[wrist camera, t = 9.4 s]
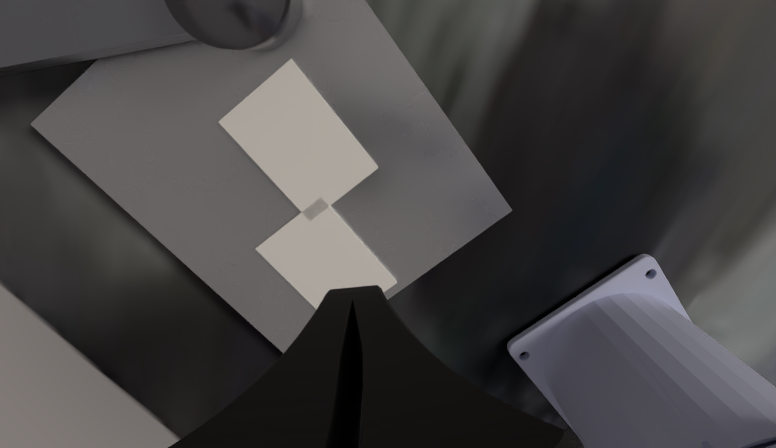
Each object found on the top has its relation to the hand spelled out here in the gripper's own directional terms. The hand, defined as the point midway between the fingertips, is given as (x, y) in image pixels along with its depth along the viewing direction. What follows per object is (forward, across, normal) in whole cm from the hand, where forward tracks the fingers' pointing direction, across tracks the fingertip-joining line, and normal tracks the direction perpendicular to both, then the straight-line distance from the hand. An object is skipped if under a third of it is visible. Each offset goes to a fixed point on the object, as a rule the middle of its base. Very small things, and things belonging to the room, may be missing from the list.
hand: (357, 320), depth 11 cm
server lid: (+8, +2, -2) cm, 9 cm away
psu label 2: (+7, +1, +2) cm, 7 cm away
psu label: (+7, +2, -3) cm, 8 cm away
